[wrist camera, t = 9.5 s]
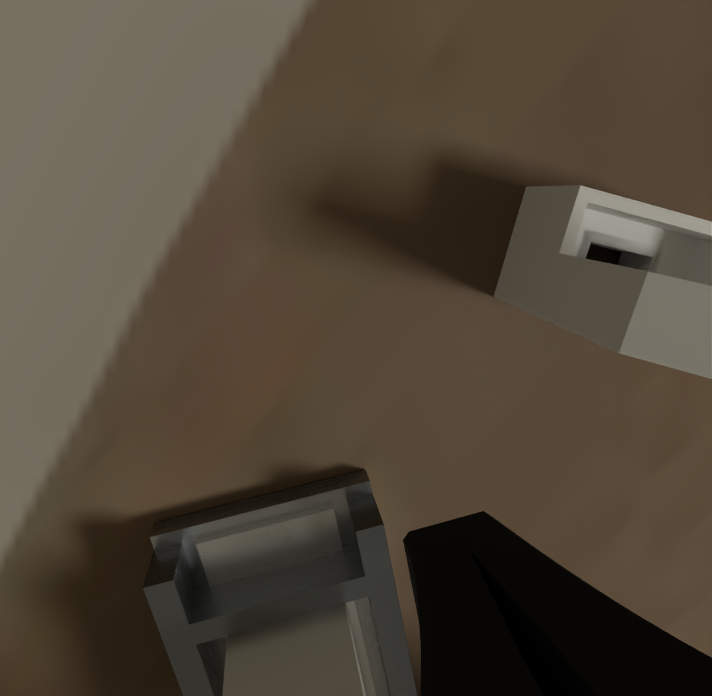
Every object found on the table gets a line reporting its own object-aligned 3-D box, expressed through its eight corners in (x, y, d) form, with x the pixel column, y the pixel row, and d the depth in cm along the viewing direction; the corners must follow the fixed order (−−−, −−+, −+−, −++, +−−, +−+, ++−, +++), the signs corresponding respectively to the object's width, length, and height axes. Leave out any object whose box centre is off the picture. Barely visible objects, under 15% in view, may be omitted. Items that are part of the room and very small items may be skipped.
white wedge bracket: (797, 369, 18) (999, 458, 10) (500, 292, 21) (468, 311, 13) (845, 262, 17) (1109, 263, 9) (528, 196, 20) (513, 152, 12)
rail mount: (425, 767, 24) (444, 834, 21) (258, 819, 23) (257, 896, 20) (365, 469, 19) (381, 511, 17) (154, 522, 18) (137, 574, 16)
